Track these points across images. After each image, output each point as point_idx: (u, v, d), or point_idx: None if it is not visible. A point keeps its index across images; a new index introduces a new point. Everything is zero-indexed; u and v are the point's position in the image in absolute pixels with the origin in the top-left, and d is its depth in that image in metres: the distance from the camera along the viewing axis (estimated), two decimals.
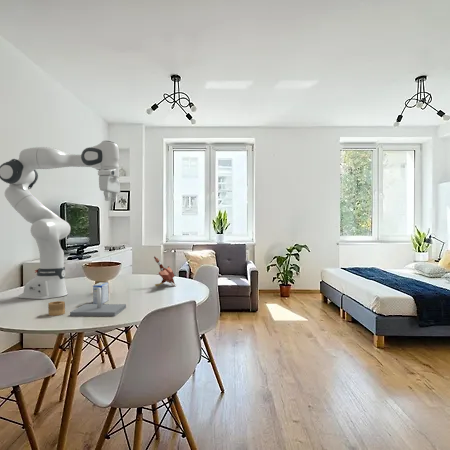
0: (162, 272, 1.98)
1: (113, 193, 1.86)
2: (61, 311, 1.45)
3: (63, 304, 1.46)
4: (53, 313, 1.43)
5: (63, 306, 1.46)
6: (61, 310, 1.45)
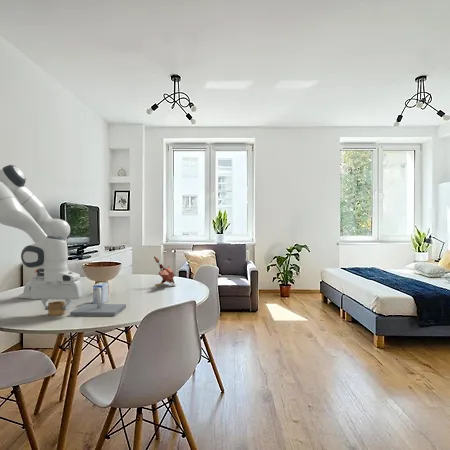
0: (162, 272, 1.98)
1: (46, 299, 1.46)
2: (61, 311, 1.45)
3: (63, 304, 1.46)
4: (53, 313, 1.44)
5: None
6: (61, 310, 1.45)
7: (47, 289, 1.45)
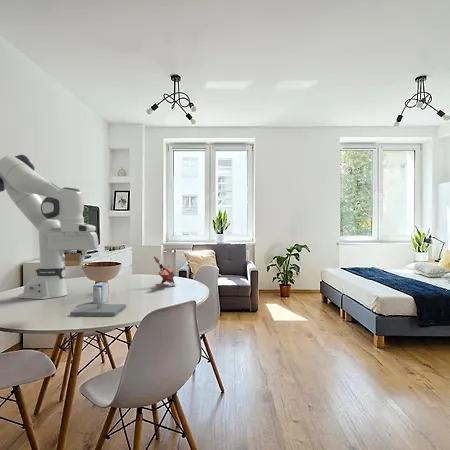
0: (162, 272, 1.98)
1: (62, 250, 1.47)
2: (77, 262, 1.45)
3: (79, 255, 1.46)
4: (70, 263, 1.44)
5: None
6: (77, 261, 1.45)
7: (64, 240, 1.45)
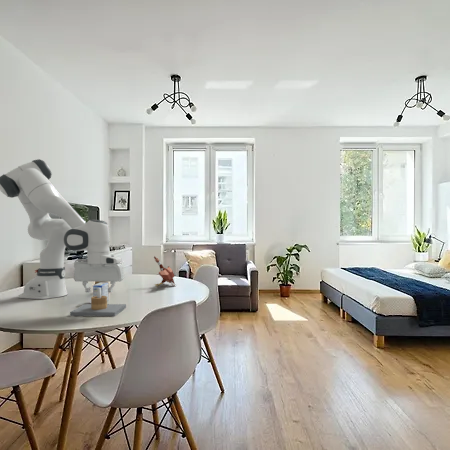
0: (162, 272, 1.98)
1: (86, 281, 1.50)
2: (104, 305, 1.48)
3: (105, 298, 1.49)
4: (96, 307, 1.47)
5: (105, 300, 1.49)
6: (104, 304, 1.48)
7: (90, 272, 1.48)
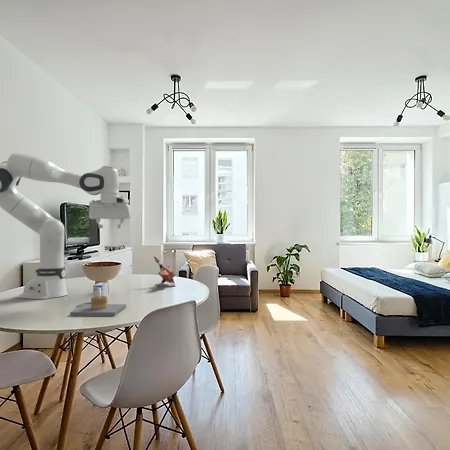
0: (162, 272, 1.98)
1: (99, 219, 1.77)
2: (104, 305, 1.48)
3: (105, 298, 1.49)
4: (96, 307, 1.47)
5: (105, 300, 1.49)
6: (104, 304, 1.48)
7: (103, 210, 1.75)
